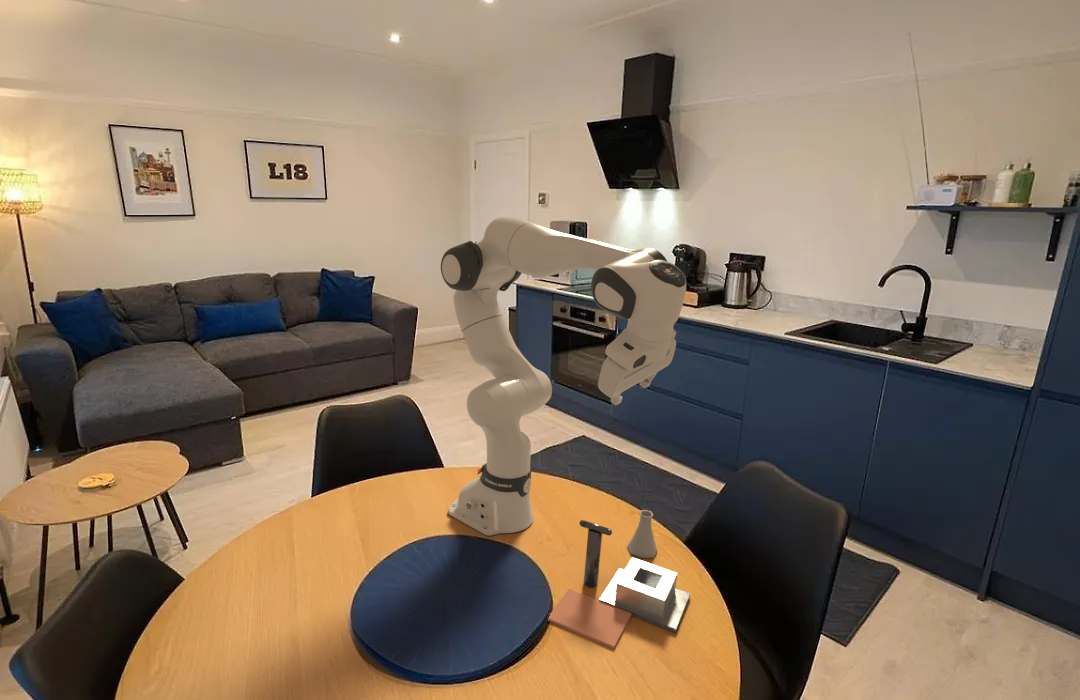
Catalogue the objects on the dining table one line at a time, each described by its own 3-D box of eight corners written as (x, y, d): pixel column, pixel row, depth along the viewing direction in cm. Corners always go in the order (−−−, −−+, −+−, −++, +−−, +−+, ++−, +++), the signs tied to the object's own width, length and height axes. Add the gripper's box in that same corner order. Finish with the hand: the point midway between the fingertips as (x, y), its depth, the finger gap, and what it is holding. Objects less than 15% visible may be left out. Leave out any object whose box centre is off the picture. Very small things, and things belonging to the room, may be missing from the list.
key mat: (547, 620, 108) (547, 617, 108) (568, 591, 117) (568, 588, 117) (613, 649, 102) (614, 646, 102) (631, 616, 110) (631, 613, 110)
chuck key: (572, 580, 120) (577, 522, 116) (578, 573, 123) (582, 516, 119) (603, 593, 117) (609, 533, 113) (608, 585, 119) (614, 526, 116)
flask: (657, 561, 128) (662, 524, 126) (626, 556, 130) (630, 519, 127) (657, 544, 135) (661, 508, 133) (627, 539, 137) (631, 503, 134)
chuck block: (599, 603, 114) (601, 580, 112) (618, 571, 124) (621, 550, 123) (675, 633, 107) (678, 609, 105) (689, 597, 117) (692, 575, 116)
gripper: (665, 318, 115) (649, 368, 123) (600, 349, 103) (586, 403, 111) (689, 333, 111) (671, 384, 120) (625, 367, 99) (609, 421, 108)
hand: (630, 393), depth 115 cm, fingers open, 8 cm apart
